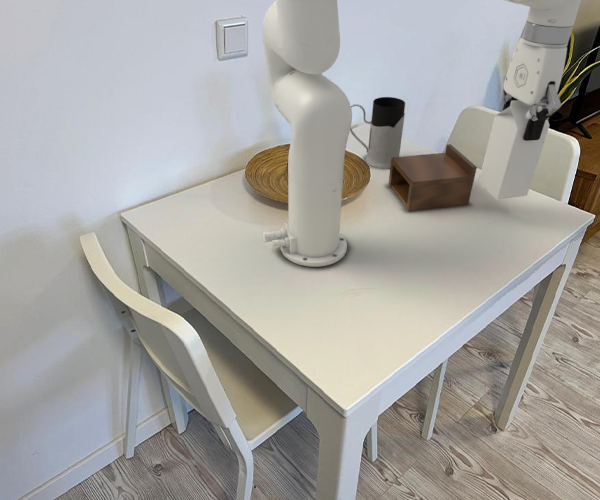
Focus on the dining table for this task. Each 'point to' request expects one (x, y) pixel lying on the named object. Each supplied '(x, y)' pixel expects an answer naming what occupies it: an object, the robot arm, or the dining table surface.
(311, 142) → the robot arm
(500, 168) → the milk carton
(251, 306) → the dining table surface
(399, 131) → the glass holder
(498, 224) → the dining table surface
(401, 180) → the brown wooden box
